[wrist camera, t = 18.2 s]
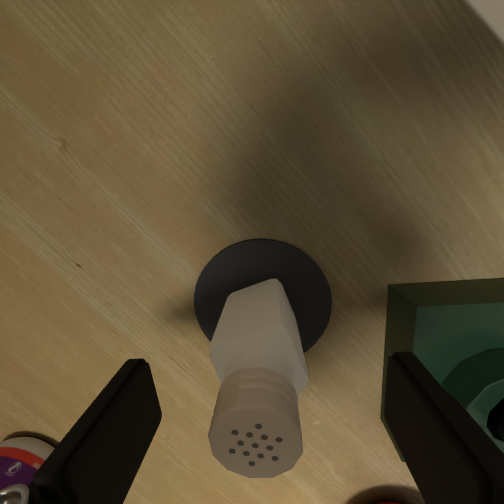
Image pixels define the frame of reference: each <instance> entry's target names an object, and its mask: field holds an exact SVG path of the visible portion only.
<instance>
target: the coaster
mask: <svg viewBox="0 0 504 504" xmlns="http://www.w3.org/2000/svg"><path fill="white" fill-rule="evenodd" d="M269 279H277V280H278V281H279V282H280V283H281V284H282V286H283V288H284V291H285V293H286V296H287V298H288V301H289V303H290V305H291V308H292V310H293V313H294V315H295V318H296V322H297V326H298V331H299V335H300V340H301V345H302V349H303V353H304V352H306V351H307V350H308V349H310V348H311V347H312V346H313V345H314V344H315V343H316V342H317V341H318V339H319V338H320V337H321V335H322V334H323V332H324V330H325V328H326V326H327V324H328V321H329V318H330V313H331V293H330V289H329V285H328V283H327V280H326V278H325V276H324V274H323V273H322V271H321V269H320V268H319V267H318V265H317V264H316V263H315V262H314V261H313V260H312V259H311V258H310V257H309V256H308V255H307V254H305V253H304V252H303V251H301V250H300V249H298V248H296V247H294V246H292V245H290V244H287V243H285V242H281V241H277V240H272V239H251V240H245V241H242V242H238V243H235V244H233V245H231V246H228V247H227V248H225V249H223V250H222V251H220V252H219V253H218V254H217V255H215V256H214V257H213V258H212V259H211V260H210V261H209V262H208V264H207V265H206V266H205V268H204V269H203V271H202V273H201V274H200V276H199V278H198V281H197V284H196V288H195V293H194V307H195V313H196V317H197V320H198V322H199V325H200V327H201V329H202V331H203V332H204V334H205V335H206V336H207V338H208V339H209V340H210V341H212V338H213V335H214V333H215V330H216V327H217V325H218V322H219V319H220V316H221V314H222V311H223V308H224V306H225V303H226V300H227V298H228V296H229V295H230V294H231V293H233V292H235V291H238V290H241V289H244V288H247V287H249V286H252V285H255V284H258V283H260V282H263V281H266V280H269Z"/></svg>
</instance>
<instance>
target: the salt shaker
mask: <svg viewBox="0 0 504 504" xmlns="http://www.w3.org/2000/svg"><path fill="white" fill-rule="evenodd" d="M210 357H211V360H212V362H213V365H214V367H215V370H216V372H217V374H218V376H219V378H220V380H221V382H222V383H221V385H220V389H219V392H218V396H217V400H216V405H215V409H214V415H213V417H212V421H211V425H210V429H209V433H208V437H209V441H210V446H211V450H212V454H213V456H214V457H215V458H216V459H217V460H218V461H219V462H220V463H221V464H222V465H223V466H224V467H225V468H226V469H227V470H230V471H232V472H235V473H238V474H240V475H243V476H246V477H248V478H272V477H275V476H277V475H279V474H281V473H283V472H286V471H288V470H290V469H292V468H293V466H294V465H295V463H296V462H297V460H298V459H299V457H300V456H301V454H302V453H303V444H302V434H301V427H300V419H299V413H298V405H297V399H298V397H297V393H299V392H301V391H302V390H303V389H304V387H305V386H306V385H307V383H308V372H307V368H306V363H305V358H304V354H303V349H302V345H301V340H300V335H299V331H298V326H297V322H296V318H295V315H294V313H293V310H292V308H291V305H290V303H289V301H288V298H287V296H286V293H285V291H284V288H283V286H282V284H281V283H280V282H279V281H278V280H277V279H269V280H266V281H263V282H260V283H258V284H255V285H252V286H249V287H247V288H244V289H241V290H238V291H235V292H233V293H231V294H230V295H229V296H228V298H227V300H226V303H225V306H224V308H223V311H222V314H221V316H220V319H219V322H218V325H217V327H216V330H215V333H214V335H213V338H212V341H211V343H210Z"/></svg>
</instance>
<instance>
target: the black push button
mask: <svg viewBox="0 0 504 504" xmlns="http://www.w3.org/2000/svg"><path fill="white" fill-rule="evenodd" d="M488 422H489V424H490V425H491V427H492V428H493V429H494V430H495V431H496V432H497V433H498V434H499V435H500V436H501V437H502V438H503V440H504V398H503V399H502V400H501V401H500V402H499V403H498V404H497V405H496V406H495V407H494V408H493V409H492V410H491V411H490V412H489V416H488Z"/></svg>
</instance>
